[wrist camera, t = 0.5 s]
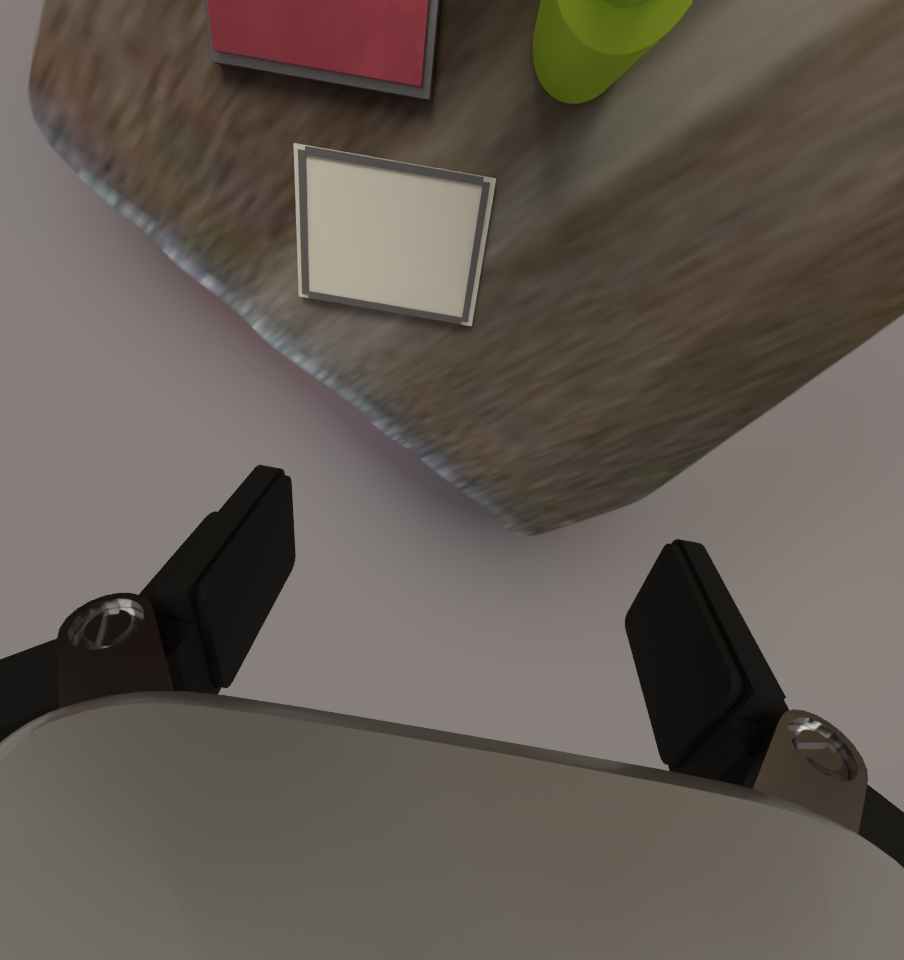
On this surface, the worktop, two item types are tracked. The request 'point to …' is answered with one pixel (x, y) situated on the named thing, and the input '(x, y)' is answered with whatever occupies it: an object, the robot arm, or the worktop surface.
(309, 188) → the marked card
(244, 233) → the worktop surface
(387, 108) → the worktop surface
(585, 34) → the soap dispenser
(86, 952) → the robot arm
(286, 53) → the ink pad
